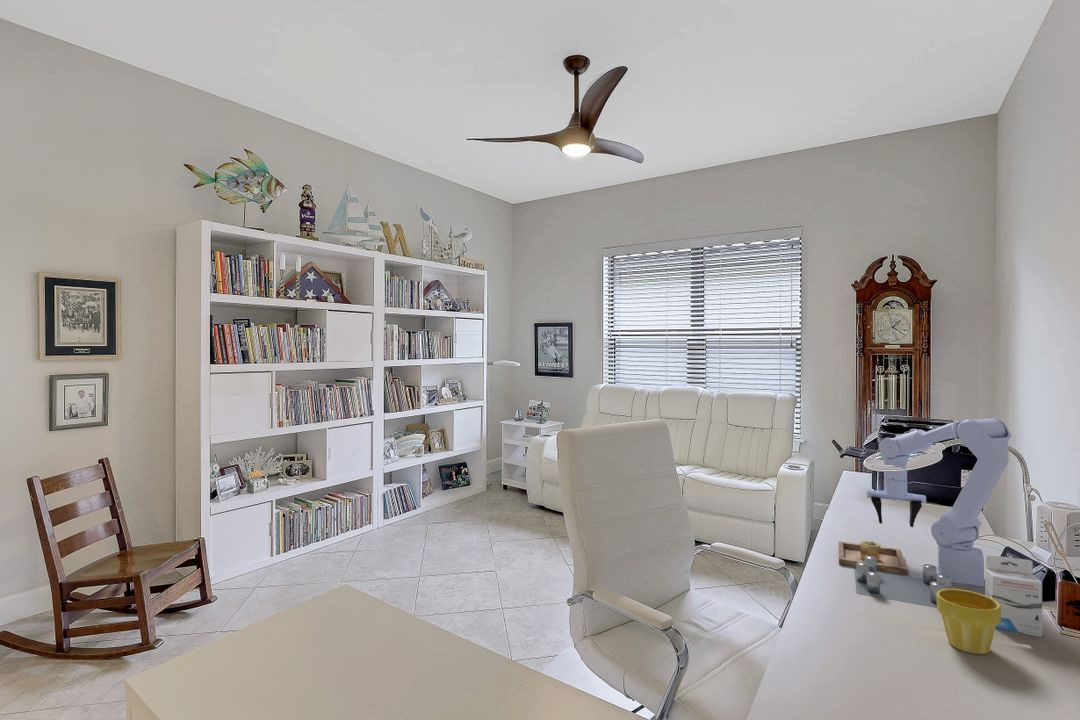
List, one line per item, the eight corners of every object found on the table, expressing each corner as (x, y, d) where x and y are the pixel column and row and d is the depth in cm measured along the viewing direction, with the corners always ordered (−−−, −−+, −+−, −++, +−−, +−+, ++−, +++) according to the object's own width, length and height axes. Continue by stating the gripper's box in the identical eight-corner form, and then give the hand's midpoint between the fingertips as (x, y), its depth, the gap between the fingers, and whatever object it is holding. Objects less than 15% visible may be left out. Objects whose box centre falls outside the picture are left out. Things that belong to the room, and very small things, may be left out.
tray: (900, 556, 159) (900, 549, 159) (907, 576, 145) (906, 568, 145) (838, 547, 166) (838, 541, 166) (838, 566, 152) (838, 558, 152)
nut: (881, 558, 156) (881, 543, 156) (877, 563, 152) (876, 547, 152) (864, 554, 159) (864, 539, 159) (859, 559, 155) (859, 543, 155)
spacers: (945, 584, 139) (945, 566, 139) (957, 608, 126) (956, 589, 126) (855, 570, 148) (855, 553, 148) (857, 591, 135) (857, 573, 135)
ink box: (992, 629, 117) (991, 562, 117) (984, 619, 121) (984, 554, 121) (1043, 638, 113) (1042, 568, 113) (1033, 627, 118) (1033, 559, 118)
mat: (945, 583, 140) (945, 582, 140) (960, 613, 124) (960, 611, 124) (854, 569, 150) (854, 567, 150) (856, 595, 134) (856, 593, 134)
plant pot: (938, 627, 118) (938, 583, 118) (1000, 643, 111) (1000, 596, 111) (935, 648, 110) (934, 600, 110) (1001, 666, 103) (1001, 615, 103)
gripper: (923, 478, 159) (923, 523, 159) (865, 473, 166) (866, 517, 166) (927, 483, 153) (927, 530, 153) (867, 478, 160) (867, 523, 160)
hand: (895, 524), depth 159 cm, fingers open, 7 cm apart
